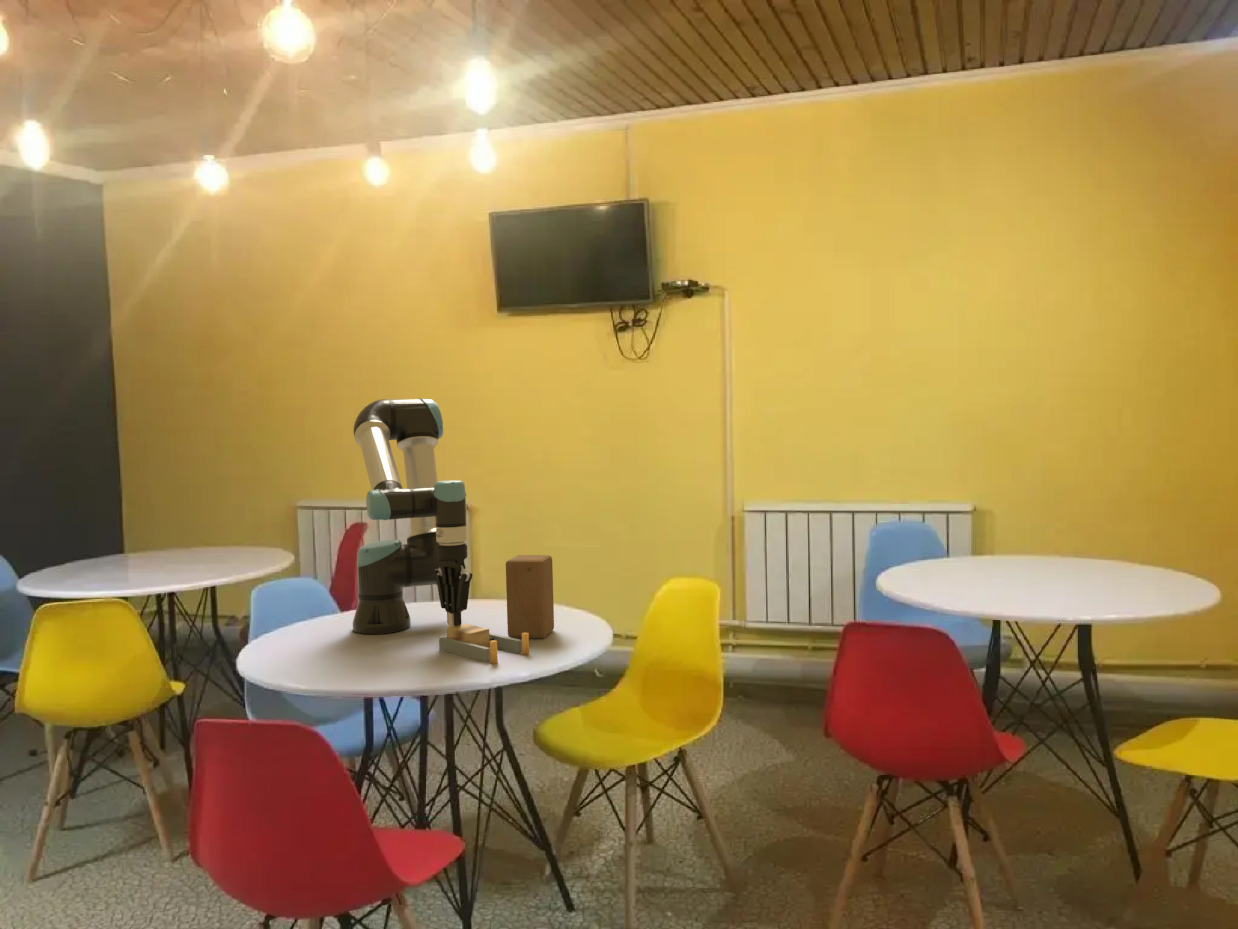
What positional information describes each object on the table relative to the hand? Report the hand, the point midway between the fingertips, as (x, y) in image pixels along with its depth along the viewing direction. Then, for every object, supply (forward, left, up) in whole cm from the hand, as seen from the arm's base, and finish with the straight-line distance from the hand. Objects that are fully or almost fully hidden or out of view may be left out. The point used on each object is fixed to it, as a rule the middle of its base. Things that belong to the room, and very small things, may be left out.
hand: (454, 638), depth 227 cm
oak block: (+5, 0, -2) cm, 6 cm away
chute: (+11, 0, -2) cm, 11 cm away
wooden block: (+7, +19, -2) cm, 20 cm away
